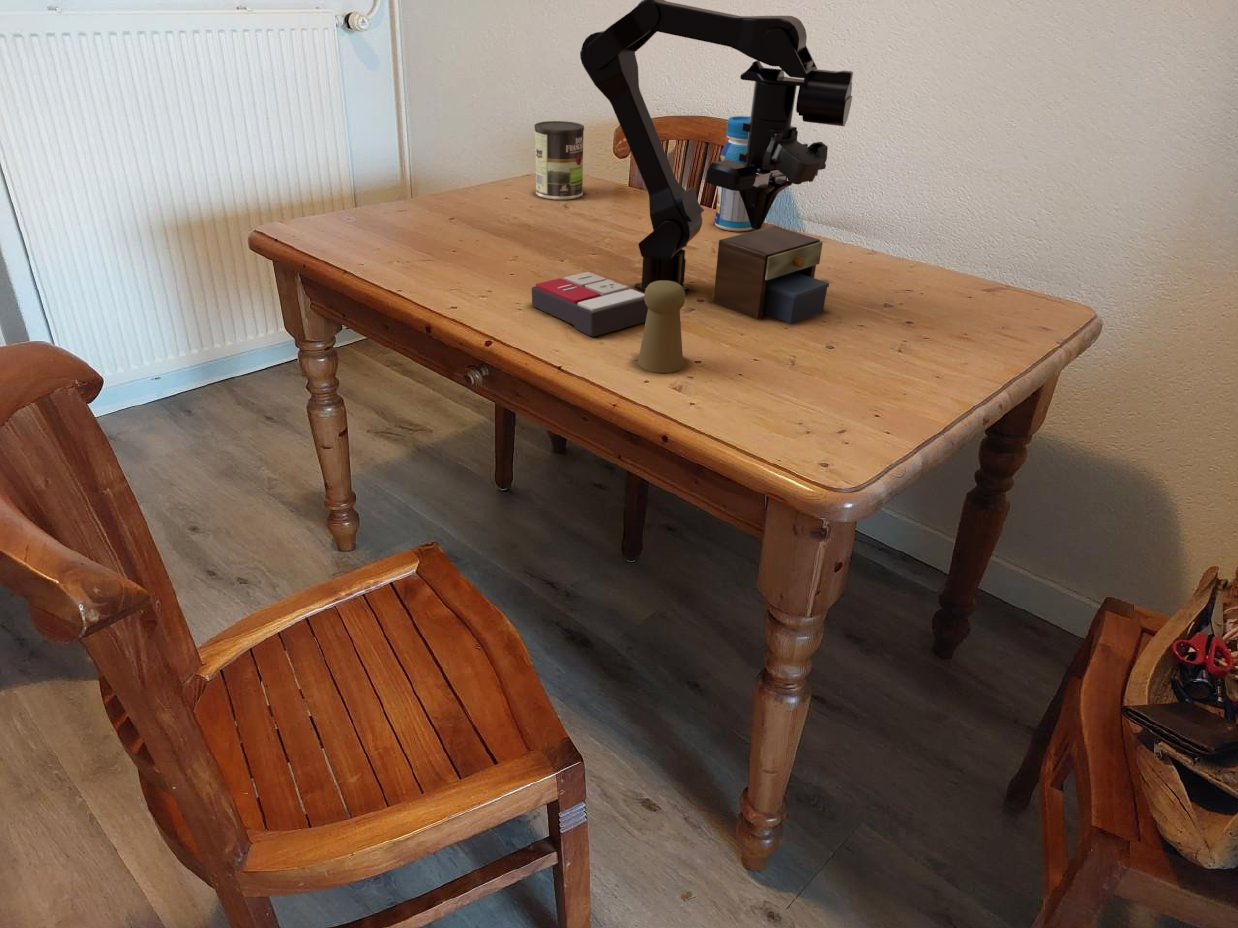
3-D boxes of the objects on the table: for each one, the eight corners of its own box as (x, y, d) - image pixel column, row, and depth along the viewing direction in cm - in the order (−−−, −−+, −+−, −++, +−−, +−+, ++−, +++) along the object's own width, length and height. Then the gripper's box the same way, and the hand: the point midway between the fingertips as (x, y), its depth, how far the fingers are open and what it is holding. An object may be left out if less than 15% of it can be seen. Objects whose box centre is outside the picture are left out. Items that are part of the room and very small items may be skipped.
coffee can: (592, 193, 190) (593, 125, 183) (565, 202, 183) (566, 132, 175) (553, 185, 194) (552, 118, 187) (525, 194, 187) (524, 125, 179)
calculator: (588, 268, 136) (652, 292, 126) (588, 295, 138) (651, 320, 128) (529, 282, 130) (592, 307, 119) (531, 310, 132) (592, 337, 122)
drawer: (773, 282, 126) (776, 259, 124) (722, 264, 132) (724, 242, 130) (825, 266, 133) (829, 244, 131) (775, 249, 139) (777, 228, 138)
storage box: (790, 324, 129) (795, 294, 126) (728, 300, 136) (731, 272, 134) (824, 312, 134) (829, 283, 131) (762, 289, 141) (766, 261, 139)
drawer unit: (757, 319, 130) (765, 255, 125) (712, 302, 136) (718, 240, 131) (810, 300, 138) (820, 239, 133) (766, 285, 143) (774, 225, 138)
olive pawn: (635, 354, 118) (639, 275, 112) (679, 353, 118) (685, 275, 113) (640, 373, 113) (644, 291, 107) (686, 373, 113) (693, 292, 107)
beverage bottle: (729, 234, 167) (741, 124, 157) (705, 223, 173) (714, 116, 163) (765, 229, 171) (778, 122, 160) (739, 218, 177) (750, 114, 166)
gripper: (772, 134, 111) (756, 254, 119) (858, 122, 122) (837, 232, 130) (709, 119, 118) (697, 233, 126) (795, 109, 129) (779, 214, 137)
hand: (755, 228), depth 129 cm, fingers closed
